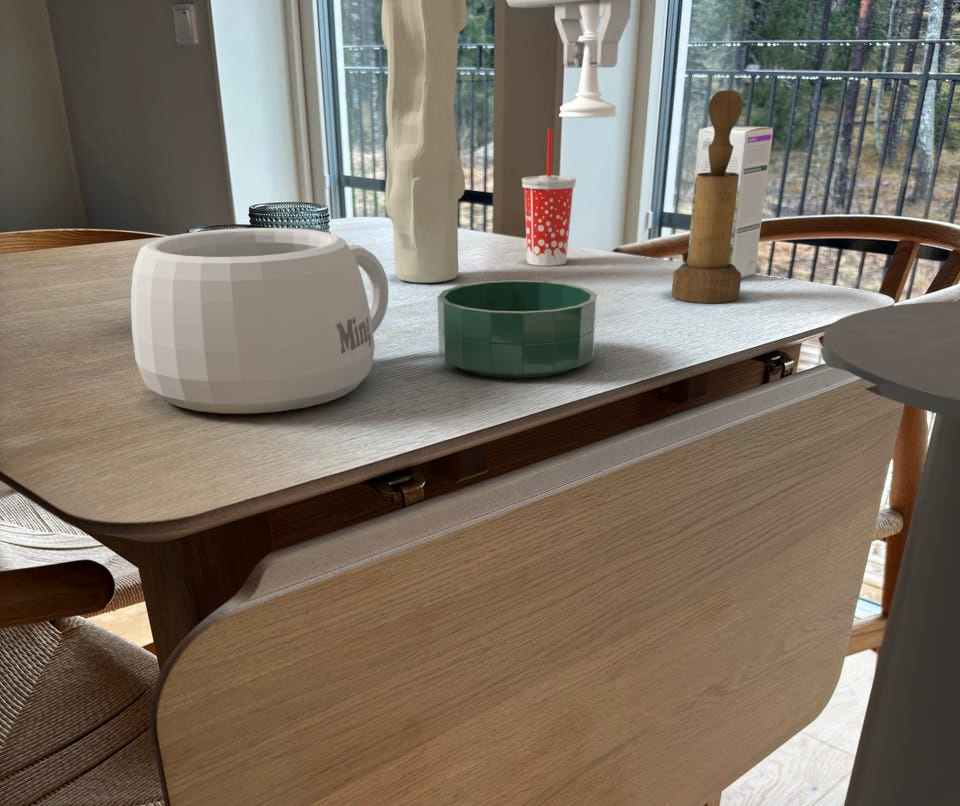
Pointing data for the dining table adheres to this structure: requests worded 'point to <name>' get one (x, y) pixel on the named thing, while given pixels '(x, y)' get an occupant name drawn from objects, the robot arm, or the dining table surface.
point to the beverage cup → (547, 215)
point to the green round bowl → (517, 327)
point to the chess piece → (588, 73)
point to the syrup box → (742, 188)
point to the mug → (254, 318)
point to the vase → (423, 136)
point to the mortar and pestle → (713, 216)
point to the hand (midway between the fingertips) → (589, 67)
